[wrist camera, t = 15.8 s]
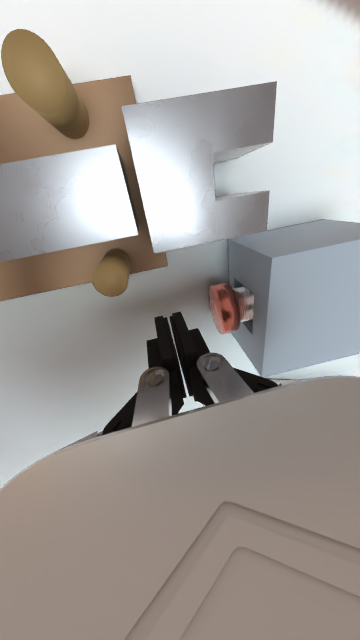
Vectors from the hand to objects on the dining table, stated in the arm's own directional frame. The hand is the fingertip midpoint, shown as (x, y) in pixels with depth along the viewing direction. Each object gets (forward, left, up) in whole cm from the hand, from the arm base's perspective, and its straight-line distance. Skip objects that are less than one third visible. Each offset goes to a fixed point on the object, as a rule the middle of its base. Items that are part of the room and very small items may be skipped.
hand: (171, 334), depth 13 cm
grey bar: (-4, +8, -3) cm, 9 cm away
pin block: (+9, 0, -4) cm, 9 cm away
